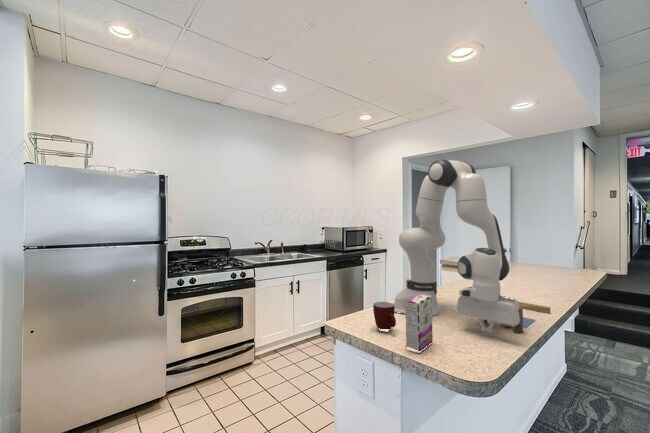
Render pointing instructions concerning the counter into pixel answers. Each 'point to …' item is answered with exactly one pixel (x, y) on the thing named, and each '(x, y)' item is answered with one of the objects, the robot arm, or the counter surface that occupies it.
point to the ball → (506, 325)
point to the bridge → (517, 328)
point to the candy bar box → (418, 322)
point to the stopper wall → (535, 307)
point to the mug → (384, 315)
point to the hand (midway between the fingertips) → (487, 331)
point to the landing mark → (527, 322)
